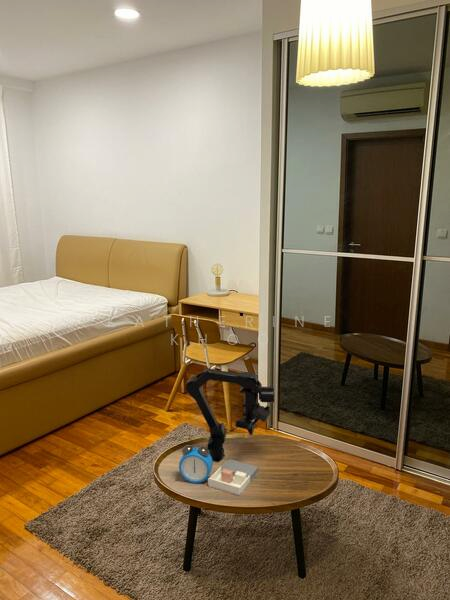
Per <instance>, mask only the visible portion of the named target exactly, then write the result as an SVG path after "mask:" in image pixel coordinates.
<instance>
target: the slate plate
mask: <svg viewBox="0 0 450 600" xmlns="http://www.w3.org/2000/svg"><path fill="white" fill-rule="evenodd" d="M220 467H221V471H222V470H223V469H227V470H230V471H233V476H234V477H235V473H236V472H237V471H239V472H243V473H247V477H248V476H250V483H251V482H252V481H253V479H254V478H255V477H256V476H257V475H258V473H259V466H255V465H252V464H249V463H244V462H241V461H237V460H234V459H230V458H229V459H227V461H226V462H225V463H224V464H223V465H222V466H220Z"/></svg>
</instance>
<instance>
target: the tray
mask: <svg viewBox="0 0 450 600" xmlns="http://www.w3.org/2000/svg"><path fill="white" fill-rule="evenodd" d="M221 467H222V466H220V467H219V468H217V469H216V471H215V472H214V473H213V474H212V475H211V476H210V477H208V478H207V483H208V484H207V485H208V487H210V488H213V489H215V490H218V491H222V492H226V493H229V494H231V495H232V494H233V495H235V496H241V494H242V493H243V492H244V491H245V490H246V488H247V487H248V486H249V484H250V483H251V482H250V476H248V477H247V478H246V479H245V480H244V482H243V483H242V484H241V485H238V484H235V477H234V476H233V481H232V482H231V483H226V482H223V481H221Z"/></svg>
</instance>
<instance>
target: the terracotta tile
mask: <svg viewBox="0 0 450 600" xmlns="http://www.w3.org/2000/svg"><path fill="white" fill-rule="evenodd" d="M221 481H223V482H226V483H231V482H232V481H233V471H230V470H227V469H223V470H222V471H221Z"/></svg>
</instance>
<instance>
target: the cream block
mask: <svg viewBox="0 0 450 600" xmlns="http://www.w3.org/2000/svg"><path fill="white" fill-rule="evenodd" d="M246 478H247V473H243V472H239V471H237V472H236V473H235V484H238V485H241V484H242V483H243V482H244V480H245V479H246Z"/></svg>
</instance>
